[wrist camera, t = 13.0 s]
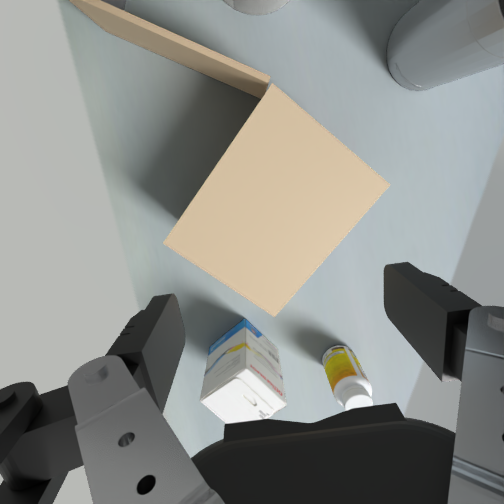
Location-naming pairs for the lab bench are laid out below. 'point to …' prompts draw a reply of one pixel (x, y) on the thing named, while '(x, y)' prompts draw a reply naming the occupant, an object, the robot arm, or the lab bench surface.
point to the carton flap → (173, 46)
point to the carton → (275, 204)
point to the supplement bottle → (347, 378)
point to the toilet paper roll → (256, 6)
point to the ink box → (243, 376)
